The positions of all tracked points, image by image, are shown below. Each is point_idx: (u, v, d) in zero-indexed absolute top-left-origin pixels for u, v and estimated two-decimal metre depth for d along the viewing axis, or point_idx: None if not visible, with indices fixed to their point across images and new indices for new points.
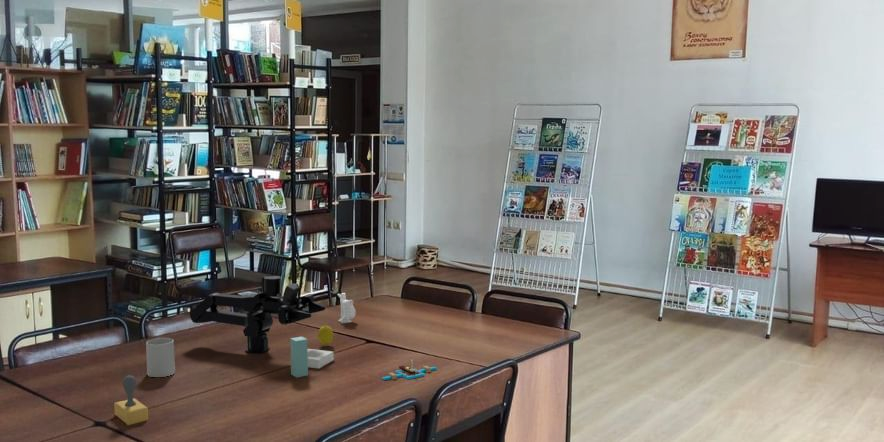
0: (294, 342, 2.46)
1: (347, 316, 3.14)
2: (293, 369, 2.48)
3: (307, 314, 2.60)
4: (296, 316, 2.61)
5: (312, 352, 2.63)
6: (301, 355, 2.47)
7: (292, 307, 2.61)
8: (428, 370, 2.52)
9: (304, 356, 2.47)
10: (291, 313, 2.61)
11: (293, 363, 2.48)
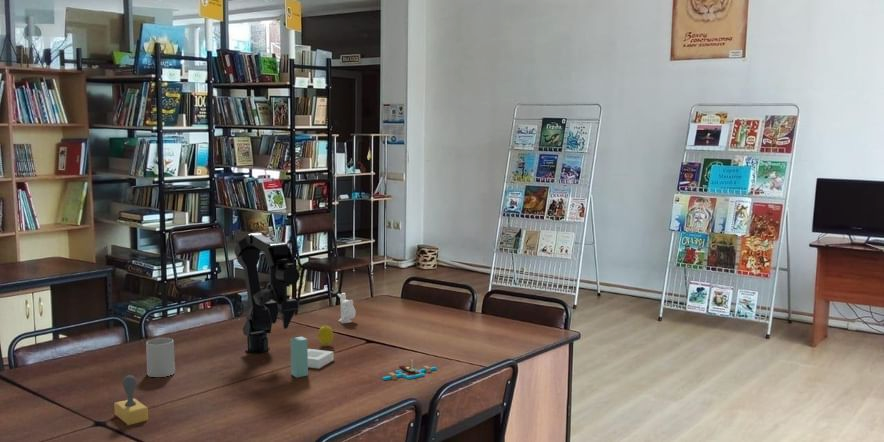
0: (294, 342, 2.46)
1: (347, 316, 3.14)
2: (293, 369, 2.48)
3: None
4: None
5: (312, 352, 2.63)
6: (301, 355, 2.47)
7: (264, 305, 2.62)
8: (428, 370, 2.52)
9: (304, 356, 2.47)
10: None
11: (293, 363, 2.48)
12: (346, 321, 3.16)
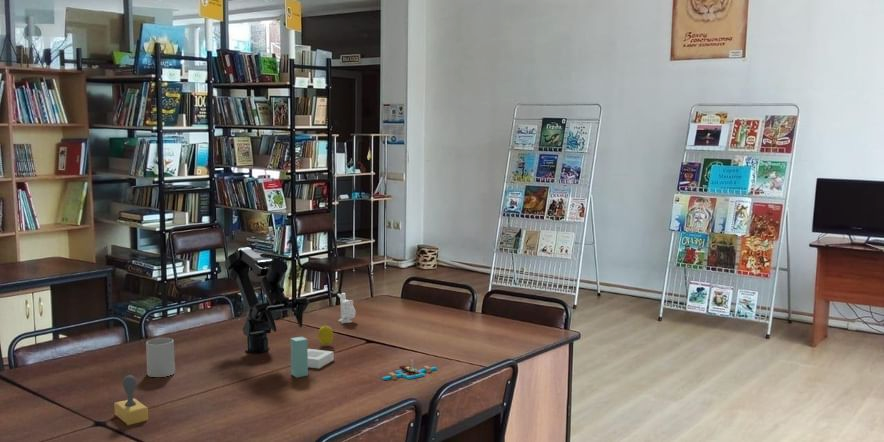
0: (294, 342, 2.46)
1: (347, 316, 3.14)
2: (293, 369, 2.48)
3: None
4: None
5: (312, 352, 2.63)
6: (301, 355, 2.47)
7: None
8: (428, 370, 2.52)
9: (304, 356, 2.47)
10: None
11: (293, 363, 2.48)
12: (346, 321, 3.16)
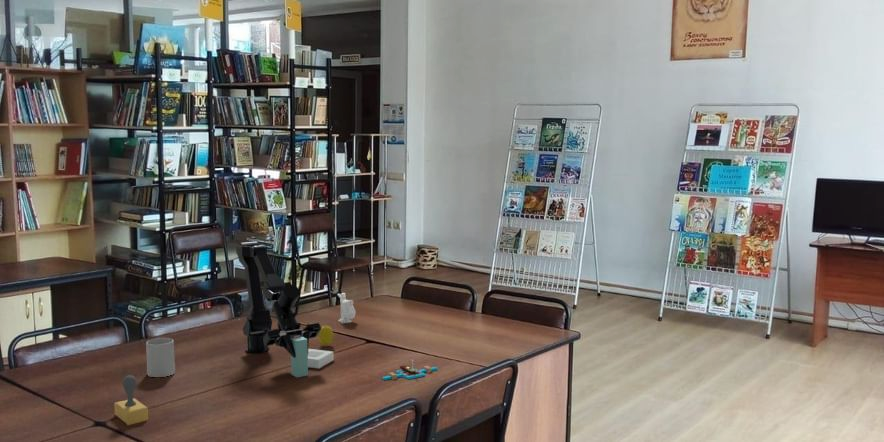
0: (294, 342, 2.46)
1: (347, 316, 3.14)
2: (293, 369, 2.48)
3: None
4: None
5: (312, 352, 2.63)
6: (301, 355, 2.47)
7: None
8: (429, 370, 2.52)
9: (304, 356, 2.47)
10: None
11: (293, 363, 2.48)
12: (346, 321, 3.16)
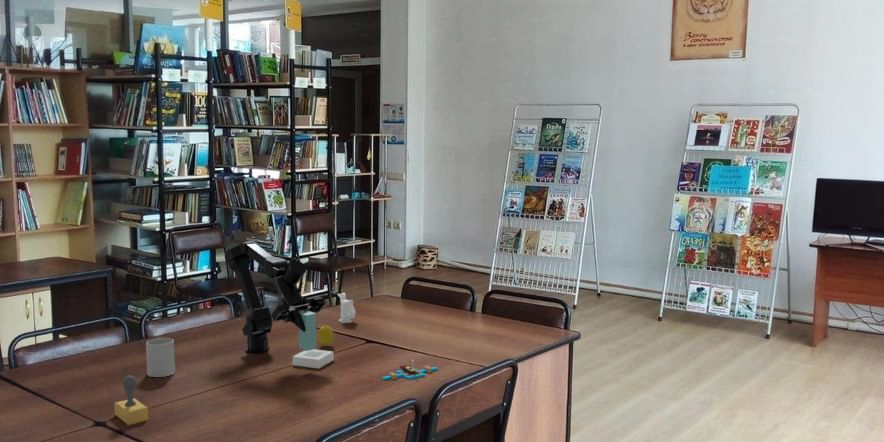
0: (304, 316, 2.51)
1: (347, 316, 3.14)
2: (302, 343, 2.53)
3: None
4: None
5: (312, 352, 2.63)
6: (310, 328, 2.52)
7: None
8: (429, 370, 2.52)
9: (313, 330, 2.53)
10: None
11: (302, 337, 2.53)
12: (346, 321, 3.16)
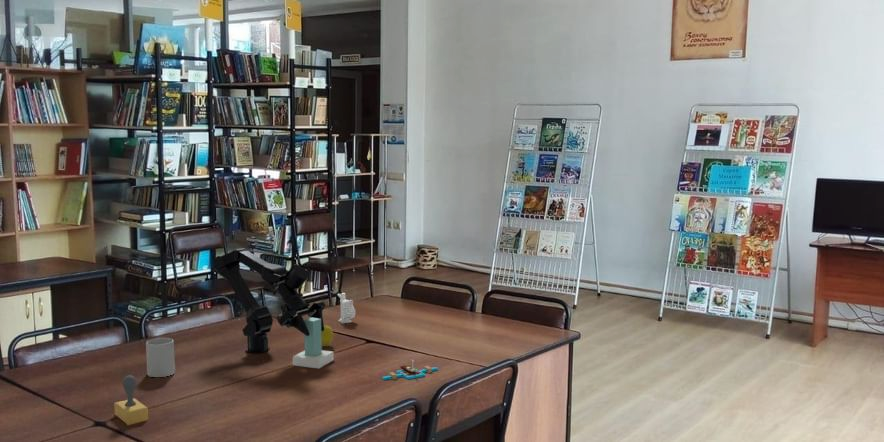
0: (310, 322, 2.58)
1: (347, 316, 3.14)
2: (308, 348, 2.60)
3: None
4: None
5: None
6: (316, 334, 2.60)
7: None
8: (429, 370, 2.52)
9: (318, 336, 2.60)
10: None
11: (308, 343, 2.60)
12: (346, 321, 3.16)
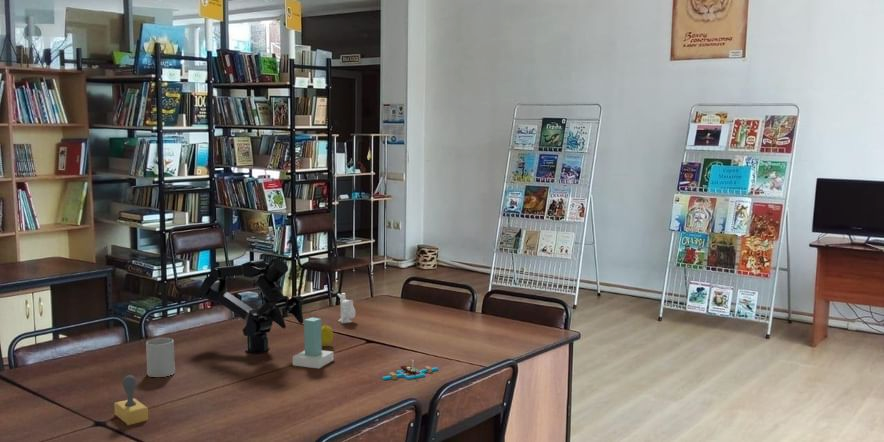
0: (310, 322, 2.58)
1: (347, 316, 3.14)
2: (308, 348, 2.60)
3: None
4: None
5: None
6: (316, 334, 2.60)
7: None
8: (429, 370, 2.52)
9: (318, 336, 2.60)
10: None
11: (308, 343, 2.60)
12: (346, 321, 3.16)
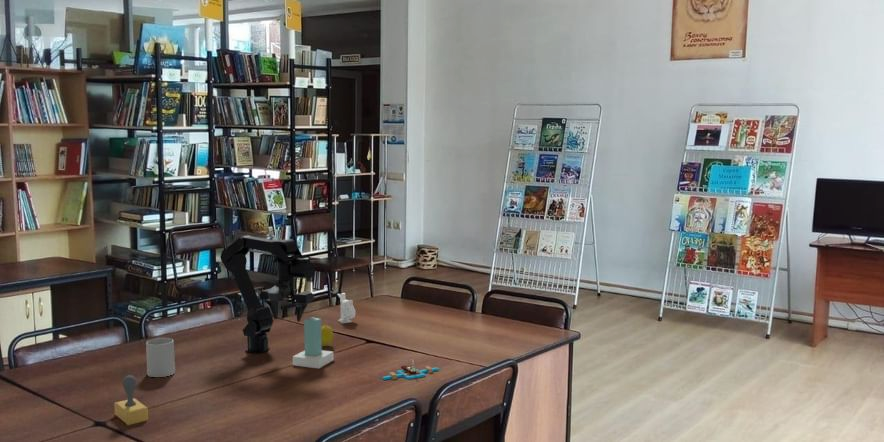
0: (310, 322, 2.58)
1: (347, 316, 3.14)
2: (308, 348, 2.60)
3: None
4: None
5: None
6: (316, 334, 2.60)
7: (267, 302, 2.67)
8: (430, 371, 2.51)
9: (318, 336, 2.60)
10: None
11: (308, 343, 2.60)
12: (346, 321, 3.16)
